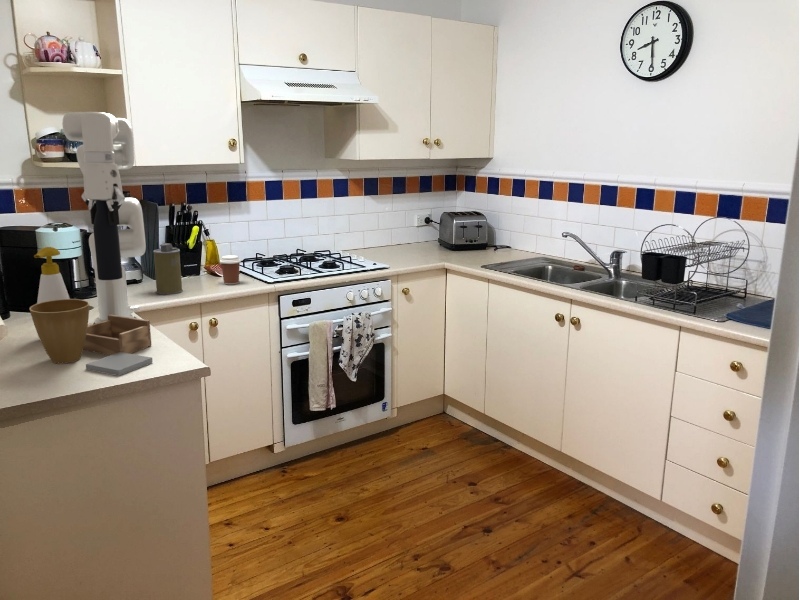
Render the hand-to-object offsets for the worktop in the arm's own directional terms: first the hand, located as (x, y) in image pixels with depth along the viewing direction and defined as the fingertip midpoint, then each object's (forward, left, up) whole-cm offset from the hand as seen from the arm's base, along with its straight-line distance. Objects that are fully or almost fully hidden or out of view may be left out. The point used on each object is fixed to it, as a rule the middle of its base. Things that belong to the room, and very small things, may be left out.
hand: (105, 223), depth 185 cm
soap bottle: (-1, -27, -38) cm, 47 cm away
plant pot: (+11, -8, -38) cm, 40 cm away
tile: (+9, +10, -38) cm, 40 cm away
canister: (-70, -45, -38) cm, 92 cm away
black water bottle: (0, 0, -16) cm, 16 cm away
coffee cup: (-95, -33, -38) cm, 108 cm away
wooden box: (-3, -4, -38) cm, 38 cm away
